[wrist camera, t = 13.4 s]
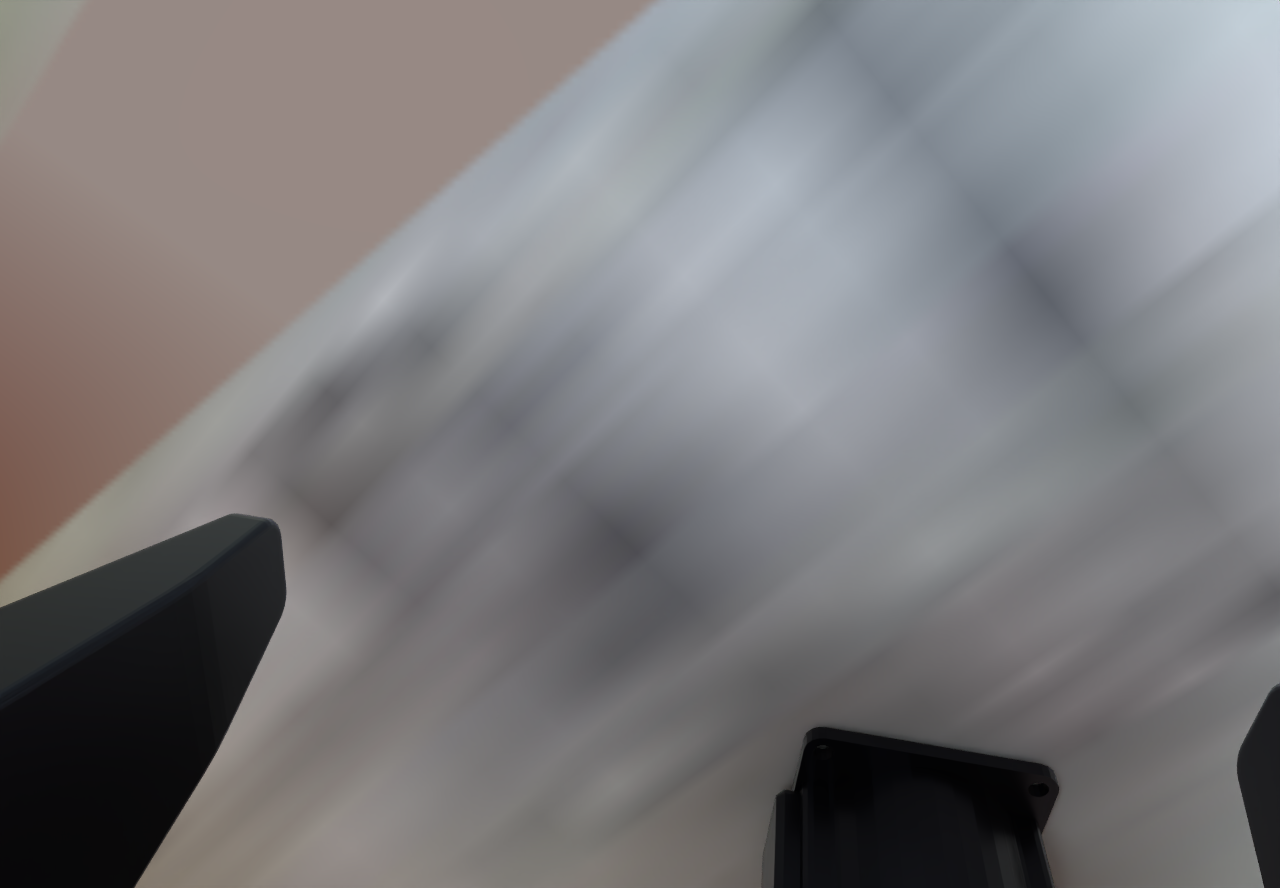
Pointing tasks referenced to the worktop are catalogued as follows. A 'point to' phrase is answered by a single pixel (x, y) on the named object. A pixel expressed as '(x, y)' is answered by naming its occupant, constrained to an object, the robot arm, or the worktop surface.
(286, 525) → the worktop surface
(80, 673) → the robot arm
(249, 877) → the worktop surface
